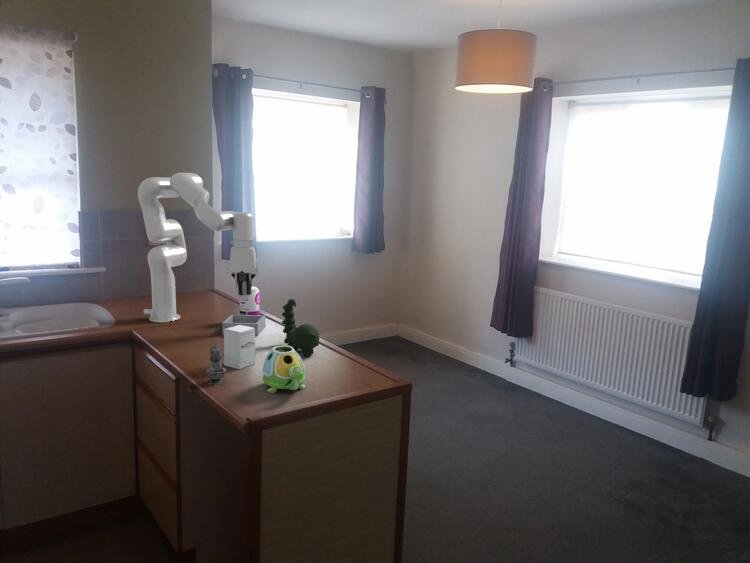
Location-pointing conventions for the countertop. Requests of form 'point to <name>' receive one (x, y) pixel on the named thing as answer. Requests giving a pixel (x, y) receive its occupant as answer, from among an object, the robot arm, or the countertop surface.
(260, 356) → the countertop surface
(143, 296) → the countertop surface
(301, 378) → the turtle holder
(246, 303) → the supplement can
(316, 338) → the toy figurine
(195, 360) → the countertop surface
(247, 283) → the beverage can
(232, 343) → the supplement box
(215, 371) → the grey tower figurine
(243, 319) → the tray
